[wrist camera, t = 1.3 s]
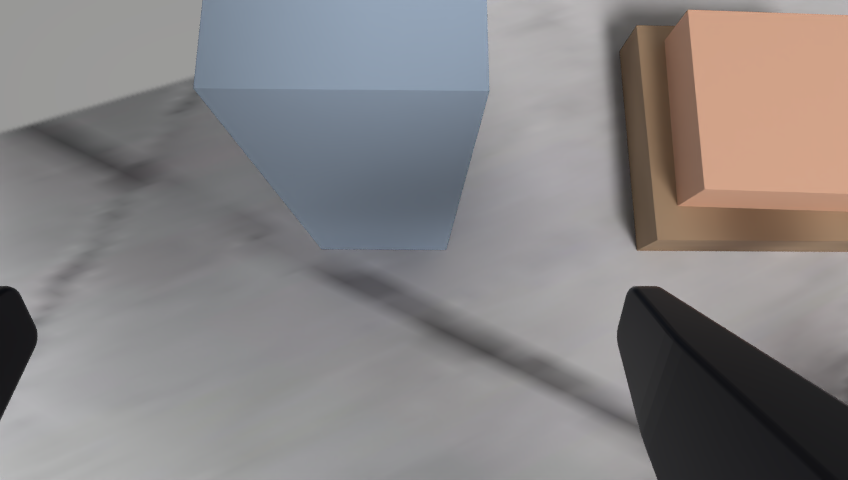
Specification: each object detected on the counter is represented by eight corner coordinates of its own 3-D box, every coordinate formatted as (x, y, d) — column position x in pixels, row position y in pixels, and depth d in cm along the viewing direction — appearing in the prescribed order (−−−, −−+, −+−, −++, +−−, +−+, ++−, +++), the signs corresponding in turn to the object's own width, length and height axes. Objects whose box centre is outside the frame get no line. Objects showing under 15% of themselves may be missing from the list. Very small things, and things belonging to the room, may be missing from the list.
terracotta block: (834, 47, 22) (875, 16, 20) (861, 212, 21) (908, 195, 19) (663, 41, 22) (687, 9, 20) (677, 206, 21) (704, 189, 19)
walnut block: (810, 61, 25) (853, 28, 22) (844, 255, 23) (895, 241, 20) (614, 59, 25) (636, 25, 22) (631, 253, 23) (657, 240, 20)
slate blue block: (445, 134, 23) (482, -148, 10) (446, 249, 22) (489, 90, 9) (326, 133, 23) (218, -153, 10) (321, 249, 22) (193, 88, 9)
